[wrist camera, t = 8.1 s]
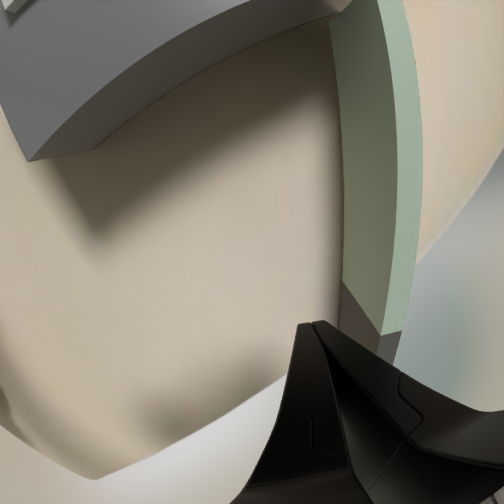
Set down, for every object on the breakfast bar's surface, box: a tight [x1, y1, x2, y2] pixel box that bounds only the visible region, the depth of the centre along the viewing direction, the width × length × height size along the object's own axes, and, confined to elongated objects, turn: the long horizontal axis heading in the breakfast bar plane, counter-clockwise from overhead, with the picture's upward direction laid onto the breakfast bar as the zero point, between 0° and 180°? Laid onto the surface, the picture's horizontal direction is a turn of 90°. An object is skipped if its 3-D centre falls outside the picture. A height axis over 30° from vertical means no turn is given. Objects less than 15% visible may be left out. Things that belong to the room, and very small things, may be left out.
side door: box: [328, 0, 423, 365], centre depth 12 cm, size 20×1×6 cm, turn 6°
